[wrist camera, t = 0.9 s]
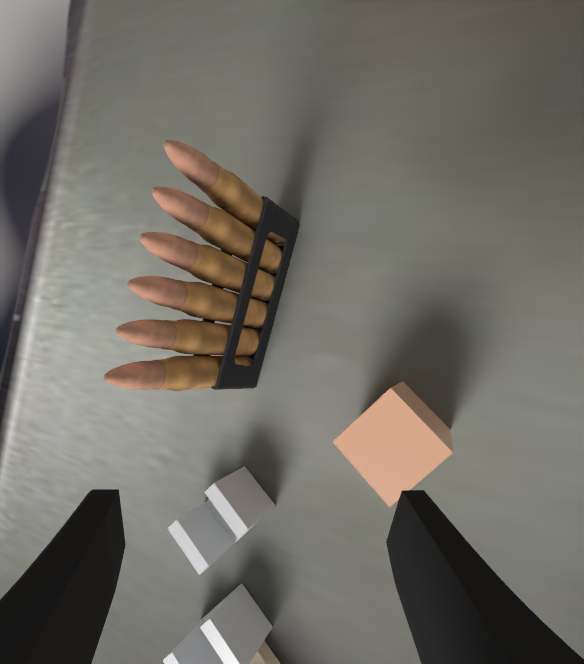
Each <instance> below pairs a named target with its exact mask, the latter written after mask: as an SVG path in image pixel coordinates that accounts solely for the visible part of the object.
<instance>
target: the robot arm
mask: <svg viewBox="0 0 584 664" xmlns="http://www.w3.org/2000/svg"><path fill="white" fill-rule="evenodd" d="M386 543H387V548H388V552H389V557H390V562H391V567H392V571H393V576H394V580H395V584H396V587H397V591H398V594H399V597H400V600H401V603H402V606H403V609H404V612H405V615H406V618H407V621H408V624H409V627H410V630H411V633H412V636H413V639H414V642H415V645H416V648H417V651H418V654H419V657H420V660H421V663H422V664H584V659H583V658H581V657H580V656H579V655H578V654H577V653H576V652H575V651H574V650H572V649H571V648H570V647H569V646H568V645H567V644H566V643H565V642H564V641H563V640H562V639H561V638H560V637H558V636H557V635H556V634H555V633H554V632H553V631H552V630H551V629H550V628H549V627H548V626H547V625H545V624H544V623H543V622H542V621H541V620H540V619H539V618H538V617H537V616H536V615H535V614H534V613H533V612H532V611H531V610H530V609H529V608H528V607H527V606H526V605H525V604H524V603H523V602H522V601H521V600H520V599H519V598H518V597H517V596H516V595H515V594H514V593H513V592H512V590H511V589H510V588H509V587H508V586H507V585H506V584H505V583H504V582H503V581H502V580H501V579H500V578H499V577H498V576H497V575H496V573H495V572H494V571H493V570H492V569H491V568H490V567H489V566H488V565H487V563H486V562H485V561H484V560H483V559H482V558H481V557H480V556H479V554H478V553H477V552H476V551H475V550H474V549H473V548H472V547H471V545H470V544H469V543H468V542H467V541H466V540H465V538H464V537H463V536H462V535H461V534H460V533H459V531H458V530H457V529H456V528H455V527H454V526H453V524H452V523H451V522H450V521H449V520H448V518H447V517H446V516H445V515H444V514H443V512H442V511H441V510H440V509H439V508H438V507H437V505H436V504H435V503H434V502H433V501H432V499H431V498H430V497H429V496H428V495H427V494H426V492H425V491H424V490H402V491H401V495H400V498H399V501H398V505H397V508H396V511H395V515H394V518H393V522H392V525H391V528H390V532H389V535H388V538H387V542H386ZM124 549H125V538H124V529H123V521H122V513H121V504H120V496H119V490H91V491H90V492H89V493H88V494H87V495H86V497H85V498H84V499H83V501H82V502H81V503H80V505H79V506H78V507H77V509H76V510H75V511H74V513H73V514H72V515H71V517H70V518H69V519H68V520H67V522H66V523H65V524H64V526H63V527H62V528H61V529H60V531H59V532H58V533H57V534H56V536H55V537H54V538H53V539H52V541H51V542H50V543H49V544H48V545H47V547H46V548H45V549H44V550H43V551H42V553H41V554H40V555H39V556H38V557H37V559H36V560H35V561H34V562H33V563H32V564H31V566H30V567H29V568H28V569H27V570H26V572H25V573H24V574H23V575H22V576H21V577H20V579H19V580H18V581H17V582H16V583H15V584H14V585H13V586H12V588H11V589H10V590H9V591H8V592H7V593H6V594H5V595H4V596H3V597H2V598H1V600H0V664H91V663H92V660H93V657H94V654H95V651H96V648H97V645H98V642H99V639H100V636H101V633H102V630H103V627H104V624H105V621H106V618H107V615H108V611H109V608H110V605H111V602H112V599H113V596H114V593H115V590H116V585H117V581H118V577H119V572H120V568H121V563H122V559H123V554H124Z"/></svg>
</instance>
